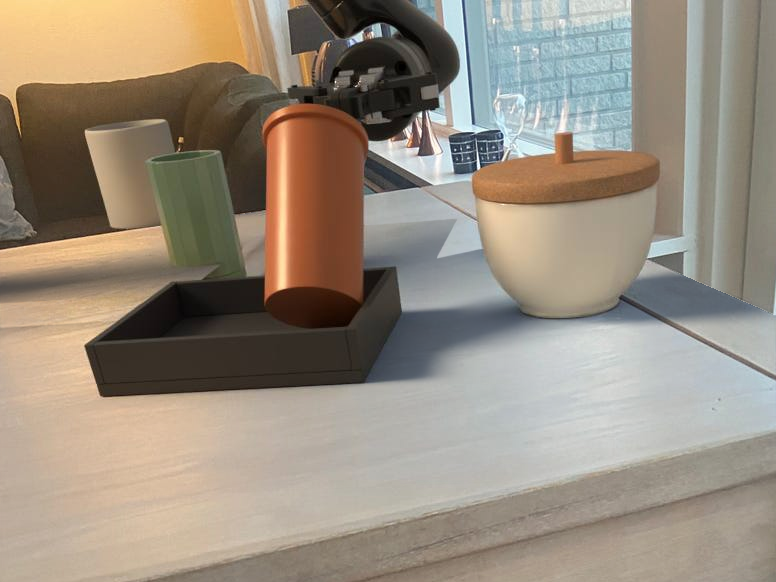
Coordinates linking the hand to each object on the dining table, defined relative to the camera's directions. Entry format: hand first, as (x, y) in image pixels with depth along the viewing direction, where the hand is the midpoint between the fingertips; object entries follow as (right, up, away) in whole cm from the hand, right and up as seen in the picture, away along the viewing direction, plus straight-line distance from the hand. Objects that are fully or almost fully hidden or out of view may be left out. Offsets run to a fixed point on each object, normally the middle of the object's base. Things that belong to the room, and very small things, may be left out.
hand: (341, 110), depth 70 cm
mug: (-26, +6, +36) cm, 44 cm away
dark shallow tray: (-5, -19, -5) cm, 20 cm away
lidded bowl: (+17, -15, -1) cm, 22 cm away
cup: (-14, -7, +15) cm, 21 cm away
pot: (-1, -17, -8) cm, 19 cm away
